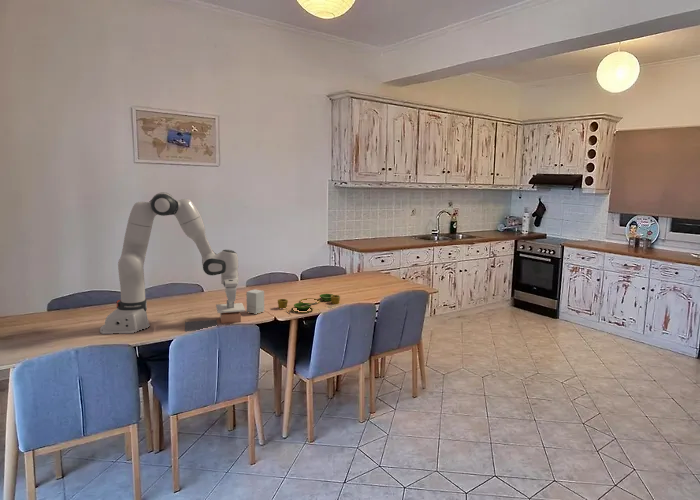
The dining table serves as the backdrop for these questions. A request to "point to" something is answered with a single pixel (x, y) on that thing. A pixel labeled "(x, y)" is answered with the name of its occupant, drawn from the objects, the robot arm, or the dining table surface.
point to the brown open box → (230, 317)
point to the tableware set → (305, 306)
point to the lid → (225, 307)
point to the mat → (199, 325)
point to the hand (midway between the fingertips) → (230, 305)
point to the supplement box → (255, 301)
